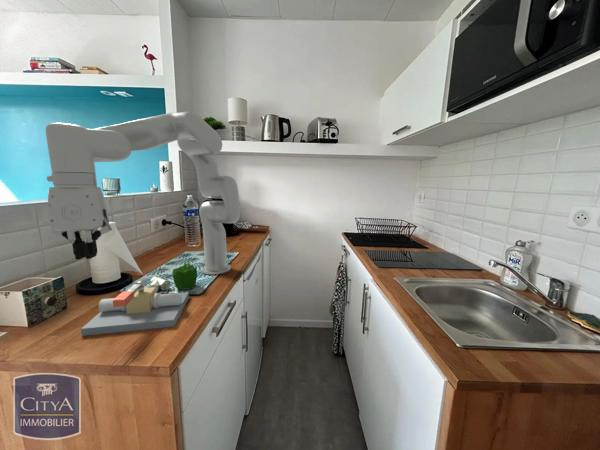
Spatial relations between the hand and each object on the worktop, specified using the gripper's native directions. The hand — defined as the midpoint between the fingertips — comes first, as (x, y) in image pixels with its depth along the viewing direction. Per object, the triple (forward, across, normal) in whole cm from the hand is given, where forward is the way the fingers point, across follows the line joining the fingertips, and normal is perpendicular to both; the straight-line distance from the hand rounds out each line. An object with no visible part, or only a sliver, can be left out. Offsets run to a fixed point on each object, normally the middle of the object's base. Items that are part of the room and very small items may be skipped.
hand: (86, 257), depth 60 cm
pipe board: (+21, +7, +10) cm, 24 cm away
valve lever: (+14, +7, +5) cm, 16 cm away
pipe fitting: (+22, +4, +29) cm, 37 cm away
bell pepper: (+21, +15, +28) cm, 38 cm away
